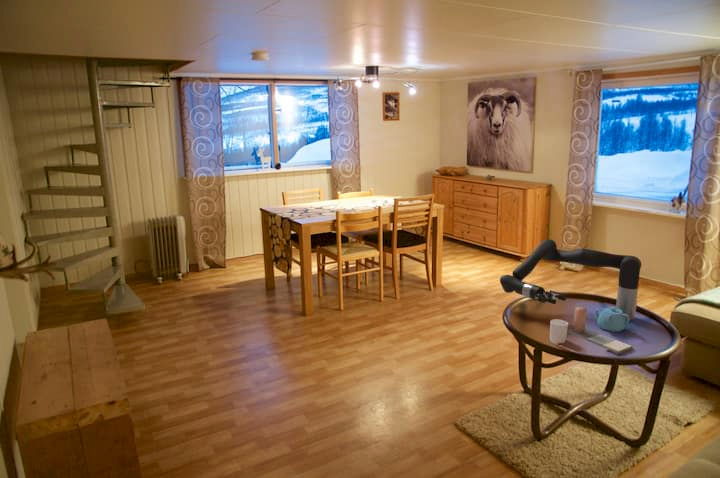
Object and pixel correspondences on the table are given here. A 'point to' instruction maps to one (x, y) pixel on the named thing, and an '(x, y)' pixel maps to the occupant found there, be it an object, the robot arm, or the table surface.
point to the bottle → (579, 320)
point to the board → (603, 341)
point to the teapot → (612, 319)
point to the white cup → (558, 331)
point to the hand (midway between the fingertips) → (560, 300)
